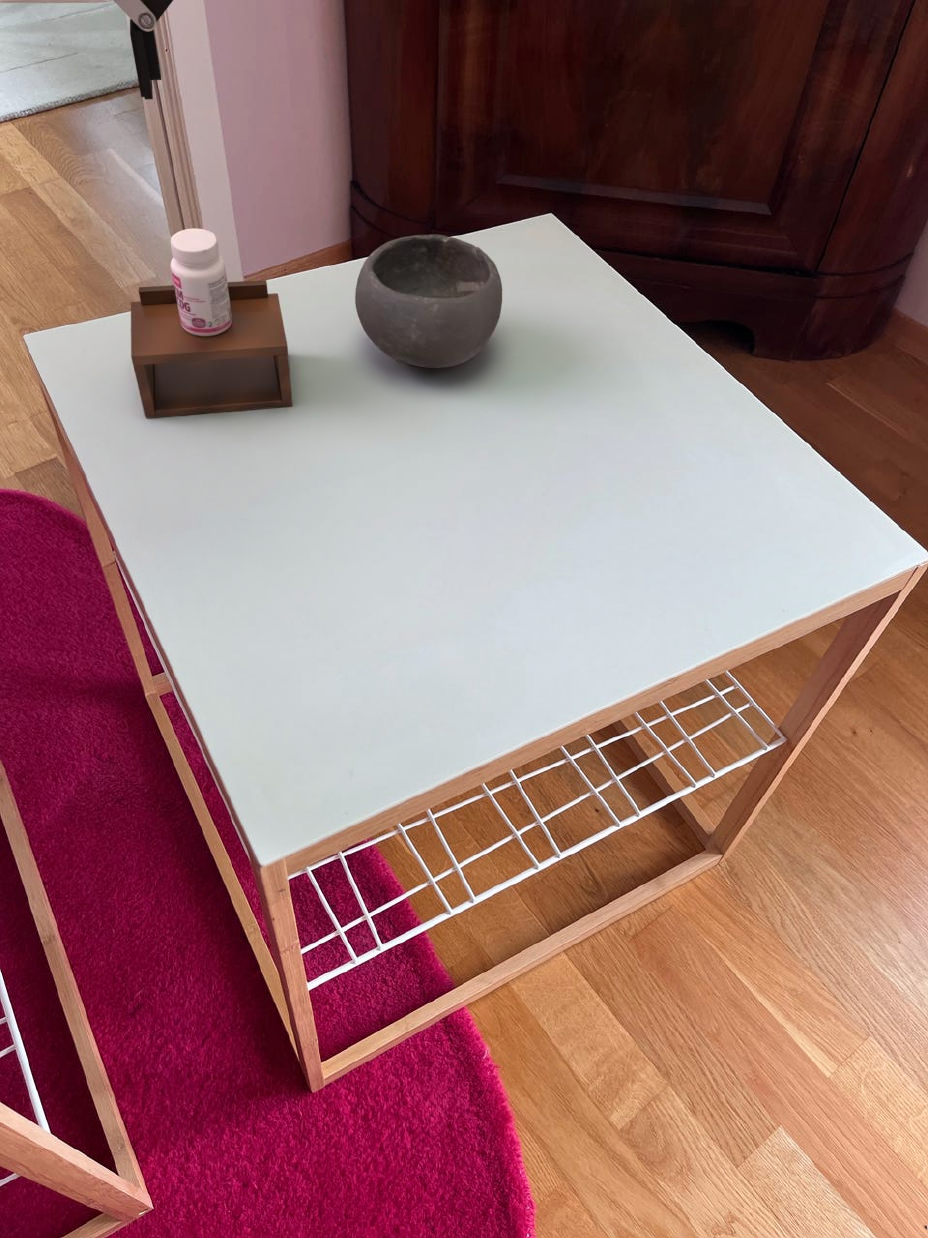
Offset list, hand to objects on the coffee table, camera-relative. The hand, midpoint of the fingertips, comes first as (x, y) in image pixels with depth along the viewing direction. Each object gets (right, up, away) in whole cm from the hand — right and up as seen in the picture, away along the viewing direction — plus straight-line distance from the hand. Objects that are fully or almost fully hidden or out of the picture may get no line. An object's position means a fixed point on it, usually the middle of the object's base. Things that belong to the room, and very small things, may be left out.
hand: (70, 92), depth 62 cm
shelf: (+1, -11, +33) cm, 35 cm away
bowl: (+22, -6, +39) cm, 45 cm away
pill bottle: (+1, -7, +28) cm, 29 cm away
